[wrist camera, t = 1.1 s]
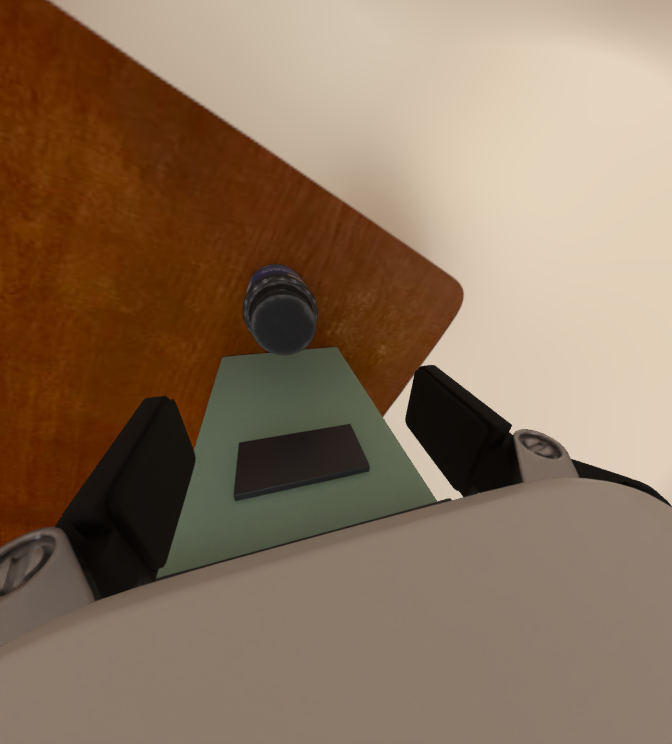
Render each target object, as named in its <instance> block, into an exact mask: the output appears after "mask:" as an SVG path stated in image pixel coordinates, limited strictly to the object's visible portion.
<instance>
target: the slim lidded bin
mask: <svg viewBox="0 0 672 744" xmlns="http://www.w3.org/2000/svg"><path fill="white" fill-rule="evenodd" d="M194 452H195V457H196V462H195V466H194V470H193V473H192V477H191V480H190V483H189V487H188V490H187V494H186V497H185V501H184V504H183V507H182V511H181V514H180V518H179V521H178V525H177V528H176V531H175V535H174V538H173V542H172V545H171V549H170V552H169V555H168V559H167V562H166V564H165V566H164V567H163V568H160V569H159V570H158V573H157V577H156V580H155V582H156V581H160V580H163V579H167V578H170V577H174V576H177V575H180V574H184V573H187V572H191V571H194V570H198V569H201V568H204V567H208V566H211V565H215V564H218V563H222V562H226V561H229V560H233V559H237V558H240V557H244V556H248V555H251V554H255V553H258V552H262V551H266V550H269V549H273V548H277V547H280V546H284V545H288V544H291V543H295V542H299V541H302V540H306V539H310V538H313V537H317V536H321V535H324V534H328V533H332V532H335V531H339V530H343V529H347V528H350V527H354V526H358V525H361V524H365V523H369V522H373V521H376V520H380V519H384V518H388V517H391V516H395V515H399V514H403V513H406V512H410V511H414V510H418V509H421V508H425V507H429V506H433V505H437V504H440V503H444V502H448V501H452V500H451V499H445V500H441V501H438V502H437V500H436V499H435V497H434V496H433V494H432V493H431V491H430V489H429V488H428V487H427V485H426V483H425V482H424V480H423V479H422V477H421V476H420V474H419V473H418V471H417V470H416V468H415V467H414V465H413V463H412V462H411V460H410V459H409V457H408V456H407V454H406V453H405V451H404V450H403V448H402V447H401V445H400V443H399V442H398V440H397V439H396V437H395V436H394V434H393V433H392V431H391V430H390V428H389V426H388V425H387V424H386V422H385V420H384V419H383V417H382V416H381V414H380V413H379V411H378V410H377V408H376V406H375V405H374V403H373V402H372V400H371V399H370V397H369V396H368V394H367V393H366V391H365V390H364V388H363V386H362V385H361V383H360V382H359V380H358V379H357V377H356V376H355V374H354V373H353V371H352V370H351V368H350V366H349V365H348V363H347V362H346V360H345V359H344V357H343V356H342V354H341V353H340V351H339V350H338V348H337V347H328V348H317V349H306V350H302V351H300V352H298V353H296V354H293V355H285V356H284V355H283V356H282V355H276V354H272V353H261V354H250V355H239V356H228V357H222V359H221V363H220V366H219V369H218V373H217V376H216V379H215V383H214V386H213V389H212V393H211V396H210V399H209V403H208V406H207V409H206V413H205V416H204V419H203V422H202V426H201V429H200V432H199V436H198V439H197V442H196V446H195V449H194Z"/></svg>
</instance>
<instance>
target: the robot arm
mask: <svg viewBox="0 0 672 744" xmlns="http://www.w3.org/2000/svg"><path fill="white" fill-rule="evenodd" d="M405 420H406V424H407V426H408V428H409V429H410V430H411V432H412V433H413V434H414V436H415V437H416V438H417V440H418V441H419V442H420V444H421V445H422V446H423V448H424V449H425V451H426V452H427V453H428V455H429V456H430V457H431V458H432V460H433V461H434V463H435V464H436V465H437V467H438V468H439V469H440V470H441V472H442V473H443V475H444V476H445V477H446V479H447V480H448V481H449V483H450V484H451V485H452V487H453V488H454V489H455V490H457V491H459V492H460V493H461V494H462V496H463V498H460V499H456V500H452V501H448V502H444V503H440V504H437V505H433V506H429V507H425V508H421V509H418V510H414V511H410V512H406V513H403V514H399V515H395V516H391V517H388V518H384V519H380V520H376V521H373V522H369V523H365V524H361V525H358V526H354V527H350V528H347V529H343V530H339V531H335V532H332V533H328V534H324V535H321V536H317V537H313V538H310V539H306V540H302V541H299V542H295V543H291V544H288V545H284V546H280V547H277V548H273V549H269V550H266V551H262V552H258V553H255V554H251V555H248V556H244V557H240V558H237V559H233V560H229V561H226V562H222V563H218V564H215V565H211V566H208V567H204V568H201V569H198V570H194V571H191V572H187V573H184V574H180V575H177V576H174V577H170V578H167V579H163V580H160V581H156V582H155V580H156V577H157V573H158V570H159V569H160V568H163V567H164V566H165V564H166V562H167V559H168V555H169V552H170V549H171V545H172V542H173V538H174V535H175V531H176V528H177V525H178V521H179V518H180V514H181V511H182V507H183V504H184V501H185V497H186V494H187V490H188V487H189V483H190V480H191V477H192V473H193V470H194V466H195V462H196V457H195V452H194V450H193V447H192V445H191V442H190V439H189V437H188V434H187V431H186V429H185V426H184V423H183V421H182V418H181V416H180V413H179V410H178V408H177V405H176V403H175V401H174V400H173V399H171V400H169V398H168V397H167V396H161V397H152V398H146V399H144V400H143V402H142V403H141V404H140V406H139V407H138V409H137V410H136V411H135V413H134V414H133V416H132V417H131V419H130V420H129V421H128V423H127V424H126V426H125V427H124V428H123V430H122V431H121V433H120V434H119V435H118V437H117V438H116V440H115V441H114V442H113V444H112V445H111V447H110V448H109V449H108V451H107V452H106V454H105V455H104V457H103V458H102V459H101V461H100V462H99V464H98V465H97V466H96V468H95V469H94V471H93V472H92V473H91V475H90V476H89V478H88V479H87V480H86V482H85V483H84V485H83V486H82V487H81V489H80V490H79V492H78V493H77V495H76V496H75V497H74V499H73V500H72V502H71V503H70V504H69V506H68V507H67V509H66V510H65V511H64V513H63V514H62V515H63V516H62V517H61V518H60V520H59V521H58V523H57V524H56V526H55V527H46V528H40V529H37V530H34V531H31V532H28V533H25V534H23V535H21V536H19V537H17V538H15V539H13V540H11V541H10V542H8V543H6V544H5V545H3V546H2V547H0V744H672V506H671V505H670V504H669V502H668V501H667V500H666V499H664V498H663V497H662V496H661V495H660V494H658V492H657V491H655V490H654V489H653V488H651V487H650V486H648V485H646V484H644V483H642V482H640V481H637V480H633V479H631V478H628V477H625V476H622V475H619V474H616V473H613V472H610V471H607V470H604V469H601V468H598V467H594V466H592V465H589V464H585V463H582V462H579V461H576V460H573V459H571V458H570V456H569V454H568V452H567V451H566V449H565V448H564V447H563V446H562V445H561V444H560V443H559V442H557V441H556V440H554V439H553V438H551V437H549V436H547V435H545V434H543V433H540V432H537V431H534V430H528V429H521V430H518V431H516V432H515V433H514V435H512V434H511V433H509V430H510V429H511V426H512V425H511V424H510V423H509V422H507V421H506V420H505V419H504V418H502V417H501V416H499V415H498V414H497V413H496V412H494V411H493V410H492V409H491V408H489V407H488V406H487V405H485V404H484V403H483V402H482V401H480V400H479V399H478V398H476V397H475V396H474V395H472V394H471V393H470V392H469V391H467V390H466V389H464V388H463V387H462V386H461V385H459V384H458V383H457V382H455V381H454V380H453V379H452V378H450V377H449V376H448V375H446V374H445V373H444V372H442V371H441V370H440V369H439V368H437V367H436V366H434V365H427V366H421V367H419V368H418V370H416V372H415V374H414V379H413V384H412V389H411V394H410V399H409V404H408V408H407V413H406V418H405ZM478 493H479V494H478Z"/></svg>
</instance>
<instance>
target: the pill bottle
mask: <svg viewBox="0 0 672 744" xmlns="http://www.w3.org/2000/svg"><path fill="white" fill-rule="evenodd" d="M317 315H318V309H317V303H316V301H315V298H314V296H313V294H312V293H311V291H310V290H309V289H308V287H307V286H306V285H305V283H304V282H303V280H302V279H301V278H300V276H299V275H298V274H297V273H296V272H295V271H293V270H292V269H290V268H289V267H287V266H284V265H279V264H270V265H267V266H265V267H262V268H260V269H259V270H257V271H256V272H255V273H254V274H253V276H252V277H251V279H250V281H249V285H248V288H247V292H246V296H245V299H244V302H243V317H244V321H245V323H246V326H247V328H248V330H249V331H250V332H251V334H252V335H253V336H254V338H255V340H256V342H257V343H258V344H259V345H260V346H261V347H262V348H263V349H265V350H266V351H268V352H270V353H272V354H276V355H282V356H283V355H284V356H285V355H293V354H296V353H298V352H300V351H302V350H303V349H305V348H306V347H307V346H308V345H309V344H310V342H311V341H312V339H313V337H314V335H315V331H316V322H317V317H318V316H317Z"/></svg>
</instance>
